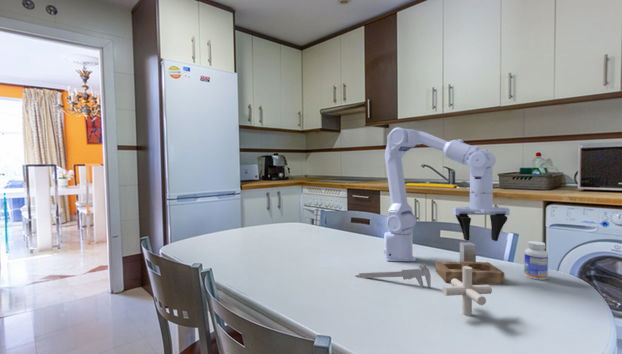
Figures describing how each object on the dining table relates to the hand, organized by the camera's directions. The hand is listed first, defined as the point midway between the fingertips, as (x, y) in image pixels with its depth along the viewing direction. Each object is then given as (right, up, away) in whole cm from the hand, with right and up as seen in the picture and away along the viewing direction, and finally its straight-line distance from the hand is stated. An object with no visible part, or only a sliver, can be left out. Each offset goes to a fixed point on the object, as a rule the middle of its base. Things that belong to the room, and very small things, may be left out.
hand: (480, 240), depth 89 cm
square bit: (+1, -10, +9) cm, 14 cm away
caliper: (-26, -11, -3) cm, 29 cm away
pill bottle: (+15, -10, -1) cm, 18 cm away
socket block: (-4, -10, -1) cm, 11 cm away
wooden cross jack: (-15, -12, -22) cm, 29 cm away
